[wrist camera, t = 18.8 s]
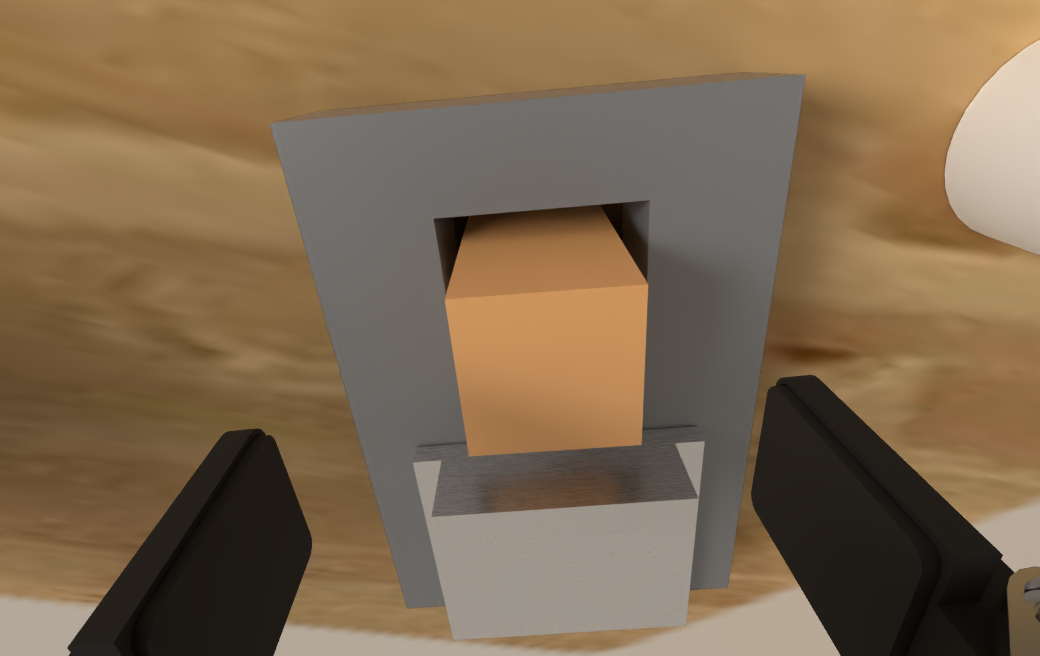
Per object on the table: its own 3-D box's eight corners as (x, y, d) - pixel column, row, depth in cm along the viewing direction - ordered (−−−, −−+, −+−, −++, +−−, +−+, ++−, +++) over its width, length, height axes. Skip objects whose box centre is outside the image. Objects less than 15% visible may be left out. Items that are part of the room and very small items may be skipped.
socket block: (421, 534, 26) (407, 608, 23) (320, 111, 17) (269, 123, 14) (697, 515, 26) (727, 587, 22) (743, 72, 17) (805, 74, 13)
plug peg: (483, 322, 21) (469, 456, 14) (470, 209, 19) (444, 299, 12) (597, 314, 21) (641, 444, 14) (596, 200, 19) (648, 284, 12)
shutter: (455, 622, 23) (447, 704, 20) (416, 447, 19) (398, 519, 16) (680, 607, 23) (705, 688, 20) (696, 426, 18) (732, 496, 15)
